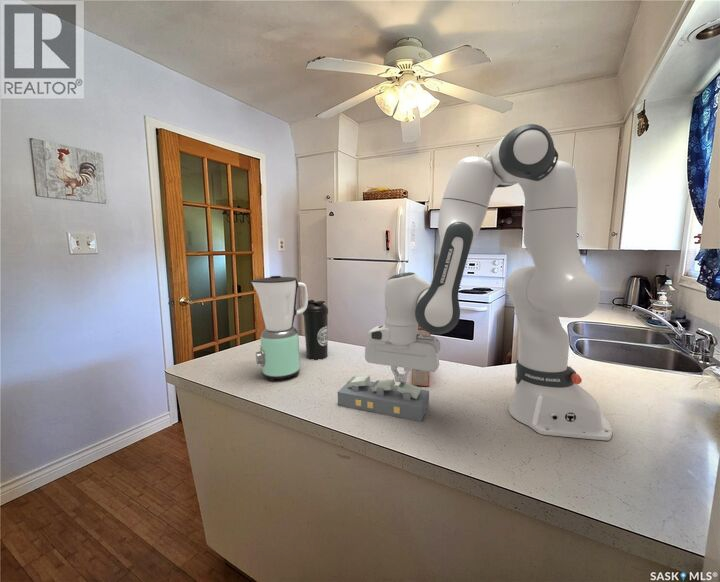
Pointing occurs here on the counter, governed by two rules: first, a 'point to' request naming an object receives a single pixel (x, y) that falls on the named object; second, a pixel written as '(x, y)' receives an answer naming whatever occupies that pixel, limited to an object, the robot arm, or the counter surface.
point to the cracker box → (419, 375)
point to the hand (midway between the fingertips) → (400, 381)
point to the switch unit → (384, 401)
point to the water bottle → (316, 330)
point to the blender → (279, 326)
